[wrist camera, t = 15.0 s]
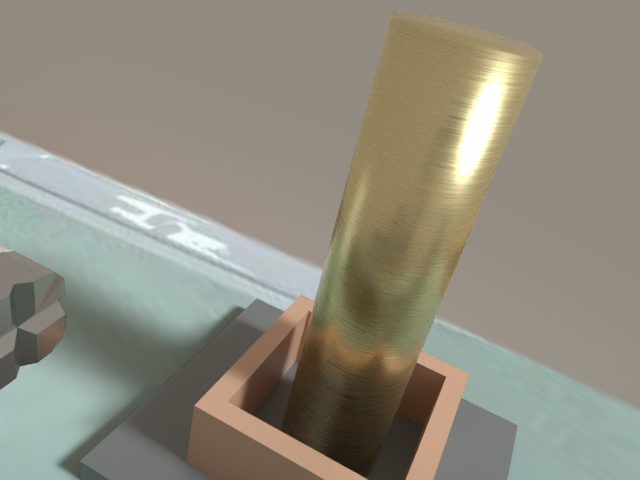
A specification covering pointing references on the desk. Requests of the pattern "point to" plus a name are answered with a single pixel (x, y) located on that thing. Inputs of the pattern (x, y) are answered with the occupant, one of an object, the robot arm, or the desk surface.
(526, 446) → the desk surface
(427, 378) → the stand
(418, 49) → the axle
